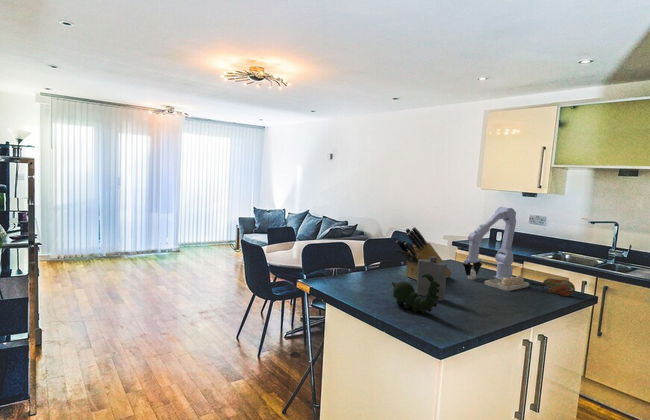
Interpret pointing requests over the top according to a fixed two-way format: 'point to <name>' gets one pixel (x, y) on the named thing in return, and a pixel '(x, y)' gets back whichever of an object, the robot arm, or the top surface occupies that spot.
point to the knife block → (417, 252)
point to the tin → (558, 286)
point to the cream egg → (472, 275)
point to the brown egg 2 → (520, 279)
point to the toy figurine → (416, 295)
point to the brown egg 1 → (506, 282)
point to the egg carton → (498, 284)
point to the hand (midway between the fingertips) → (471, 274)
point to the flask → (436, 271)
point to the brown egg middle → (513, 280)
